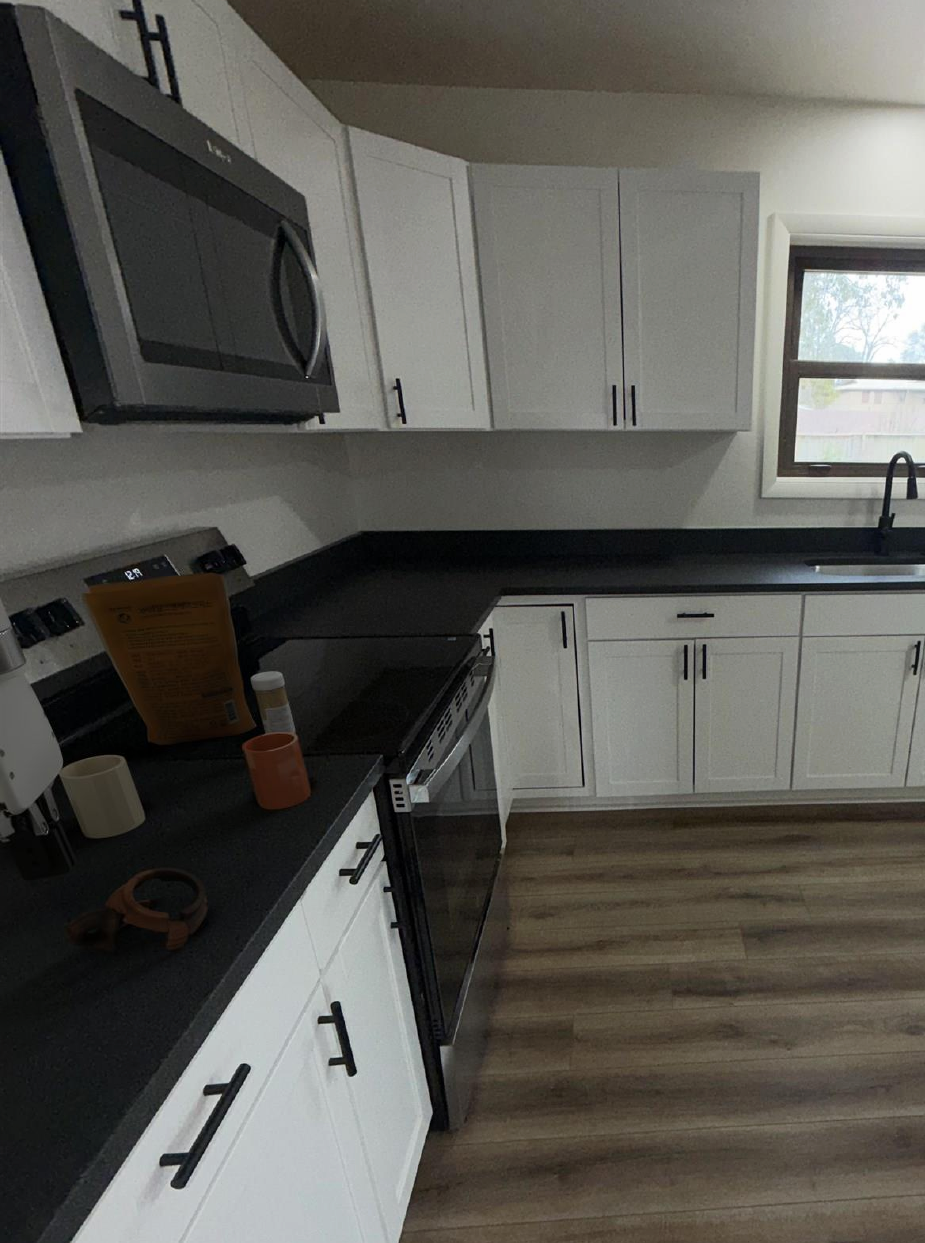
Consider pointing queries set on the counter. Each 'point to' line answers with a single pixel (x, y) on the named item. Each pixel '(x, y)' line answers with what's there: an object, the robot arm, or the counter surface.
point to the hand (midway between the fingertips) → (51, 871)
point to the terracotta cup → (277, 770)
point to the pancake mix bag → (174, 654)
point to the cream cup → (103, 796)
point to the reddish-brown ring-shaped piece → (139, 914)
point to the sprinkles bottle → (273, 702)
